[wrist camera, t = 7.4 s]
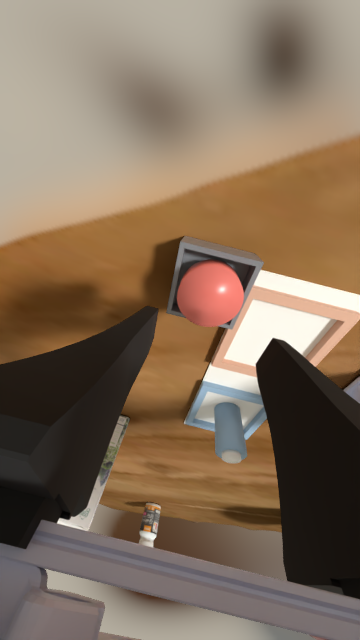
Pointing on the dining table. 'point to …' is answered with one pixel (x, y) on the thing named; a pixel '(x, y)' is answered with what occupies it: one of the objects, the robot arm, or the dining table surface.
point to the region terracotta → (329, 340)
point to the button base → (200, 250)
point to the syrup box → (99, 479)
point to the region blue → (228, 392)
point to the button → (210, 293)
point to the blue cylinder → (229, 433)
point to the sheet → (268, 324)
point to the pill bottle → (149, 524)
